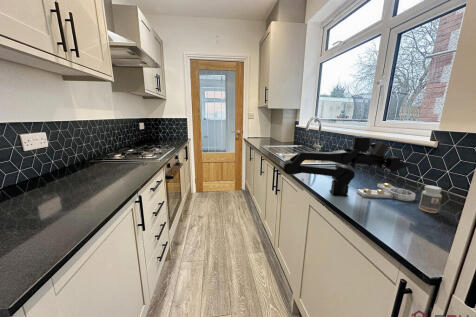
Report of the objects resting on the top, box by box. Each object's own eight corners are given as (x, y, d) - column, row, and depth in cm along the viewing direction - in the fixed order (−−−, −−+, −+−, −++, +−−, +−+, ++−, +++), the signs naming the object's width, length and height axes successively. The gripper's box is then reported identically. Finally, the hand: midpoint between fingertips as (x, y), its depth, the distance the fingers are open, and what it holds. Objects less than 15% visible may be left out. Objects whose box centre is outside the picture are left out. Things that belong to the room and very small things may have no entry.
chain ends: (365, 198, 88) (366, 193, 88) (347, 185, 106) (348, 180, 105) (420, 201, 86) (421, 196, 85) (392, 187, 103) (393, 182, 103)
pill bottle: (441, 214, 75) (448, 190, 73) (424, 212, 76) (430, 189, 74) (430, 207, 80) (436, 185, 78) (414, 206, 81) (419, 184, 79)
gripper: (381, 144, 78) (423, 147, 76) (359, 140, 96) (392, 143, 95) (375, 170, 80) (416, 174, 79) (354, 162, 98) (387, 165, 97)
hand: (402, 162), depth 87 cm, fingers open, 9 cm apart
